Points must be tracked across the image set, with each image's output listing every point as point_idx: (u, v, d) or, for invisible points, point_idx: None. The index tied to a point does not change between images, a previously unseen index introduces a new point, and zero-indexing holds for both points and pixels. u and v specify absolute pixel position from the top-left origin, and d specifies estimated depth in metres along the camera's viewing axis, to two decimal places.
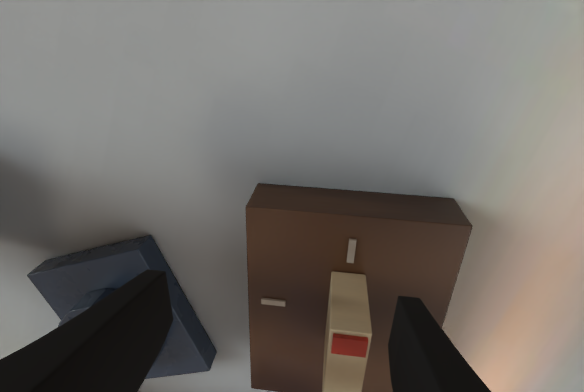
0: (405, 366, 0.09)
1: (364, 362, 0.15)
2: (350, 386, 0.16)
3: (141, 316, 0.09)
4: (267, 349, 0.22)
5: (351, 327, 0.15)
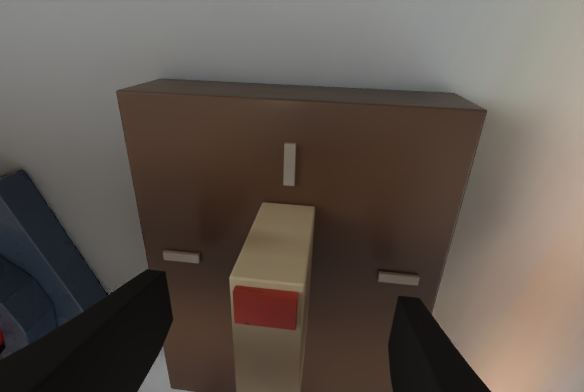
0: (405, 366, 0.09)
1: (297, 340, 0.09)
2: (279, 384, 0.09)
3: (141, 316, 0.09)
4: (185, 331, 0.15)
5: (268, 275, 0.08)
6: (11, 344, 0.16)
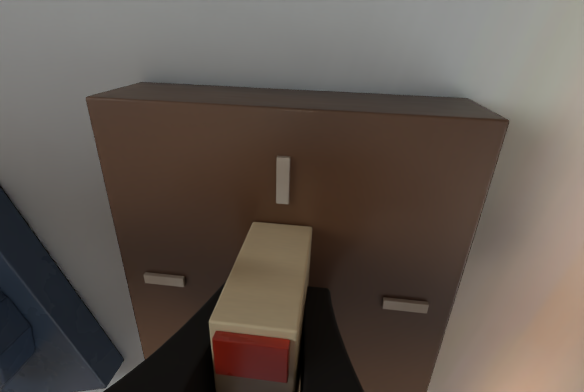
0: (302, 353, 0.09)
1: (290, 391, 0.07)
2: None
3: None
4: None
5: (255, 318, 0.07)
6: None
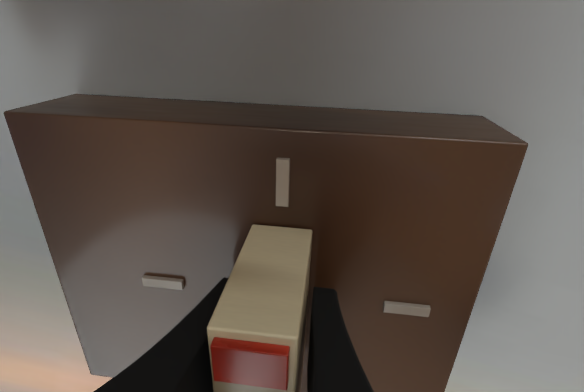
0: (310, 354, 0.09)
1: None
2: None
3: None
4: (143, 160, 0.10)
5: (254, 324, 0.07)
6: None
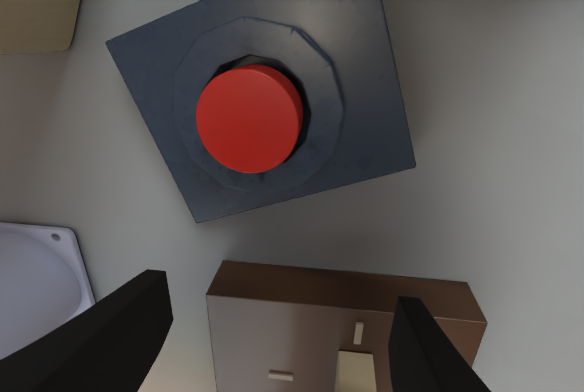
0: (405, 366, 0.09)
1: None
2: None
3: (141, 316, 0.09)
4: (281, 319, 0.18)
5: None
6: (241, 173, 0.14)
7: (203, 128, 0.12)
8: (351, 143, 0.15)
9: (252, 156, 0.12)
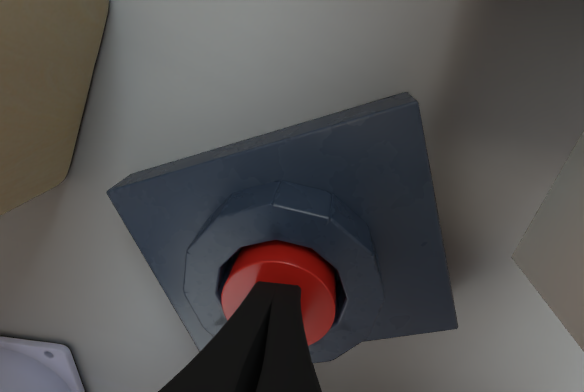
0: None
1: None
2: None
3: (267, 331, 0.09)
4: None
5: None
6: None
7: (229, 308, 0.11)
8: (385, 302, 0.13)
9: None
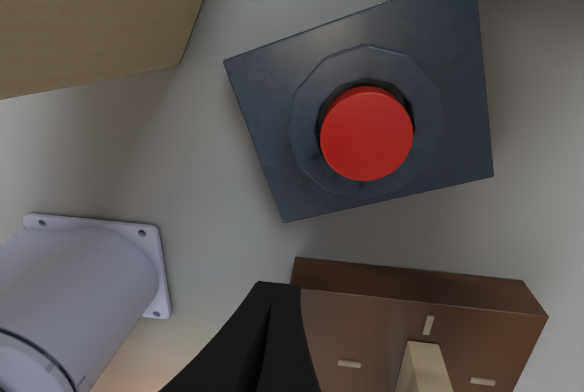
0: None
1: None
2: None
3: (267, 331, 0.09)
4: (357, 310, 0.20)
5: None
6: (343, 180, 0.16)
7: (326, 141, 0.14)
8: (437, 154, 0.17)
9: (366, 166, 0.14)
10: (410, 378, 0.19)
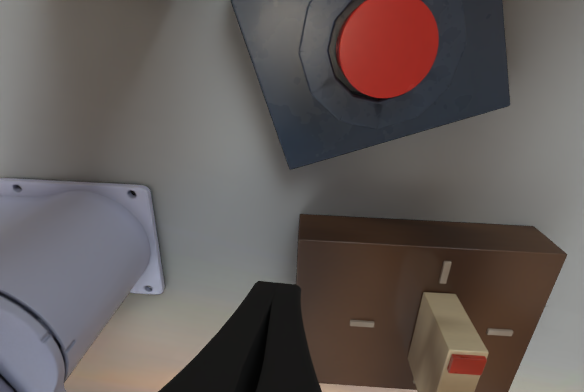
0: None
1: (477, 379, 0.16)
2: None
3: (267, 331, 0.09)
4: (371, 261, 0.19)
5: (467, 347, 0.16)
6: (359, 107, 0.15)
7: (345, 52, 0.13)
8: (453, 82, 0.16)
9: (388, 80, 0.13)
10: (430, 328, 0.18)
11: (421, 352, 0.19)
